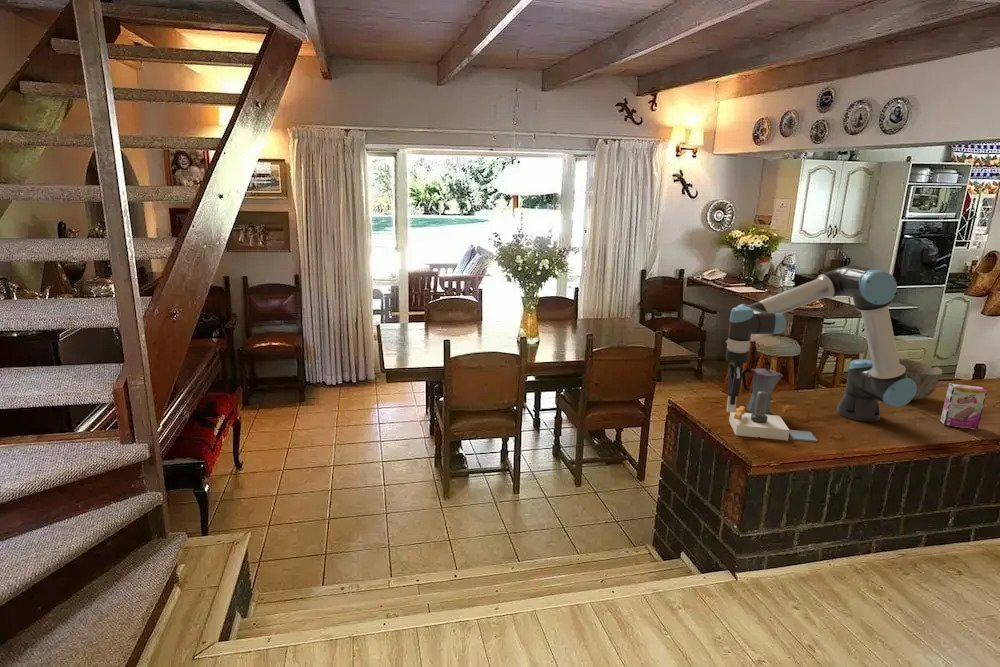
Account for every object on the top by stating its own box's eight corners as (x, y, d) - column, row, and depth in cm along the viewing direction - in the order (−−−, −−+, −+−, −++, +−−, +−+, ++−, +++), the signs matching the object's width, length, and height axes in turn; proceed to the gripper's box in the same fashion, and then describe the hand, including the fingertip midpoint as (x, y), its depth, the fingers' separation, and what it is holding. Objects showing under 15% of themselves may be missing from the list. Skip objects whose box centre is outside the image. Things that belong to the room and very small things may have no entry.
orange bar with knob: (737, 408, 227) (738, 405, 227) (746, 410, 226) (747, 406, 225) (731, 418, 217) (732, 414, 217) (740, 420, 216) (741, 416, 215)
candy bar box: (944, 426, 230) (952, 386, 226) (939, 422, 235) (948, 382, 231) (978, 431, 227) (988, 390, 223) (973, 426, 231) (982, 386, 227)
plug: (763, 428, 225) (768, 390, 221) (767, 434, 219) (772, 395, 216) (748, 426, 226) (753, 389, 222) (751, 432, 220) (756, 394, 217)
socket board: (778, 425, 228) (780, 411, 226) (788, 440, 214) (790, 425, 213) (729, 421, 231) (730, 406, 230) (735, 435, 218) (737, 420, 216)
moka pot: (780, 418, 235) (787, 370, 230) (739, 414, 238) (745, 367, 233) (774, 409, 244) (781, 363, 239) (735, 406, 247) (741, 360, 242)
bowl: (937, 411, 247) (944, 376, 243) (875, 400, 258) (882, 367, 255) (934, 396, 265) (941, 364, 261) (877, 386, 276) (883, 355, 272)
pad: (810, 433, 221) (810, 431, 221) (816, 442, 213) (817, 440, 213) (787, 431, 222) (787, 429, 222) (793, 439, 215) (793, 438, 215)
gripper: (723, 344, 219) (717, 404, 225) (729, 354, 207) (722, 417, 213) (745, 346, 218) (738, 406, 224) (752, 355, 205) (744, 419, 211)
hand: (730, 411), depth 218 cm, fingers closed
